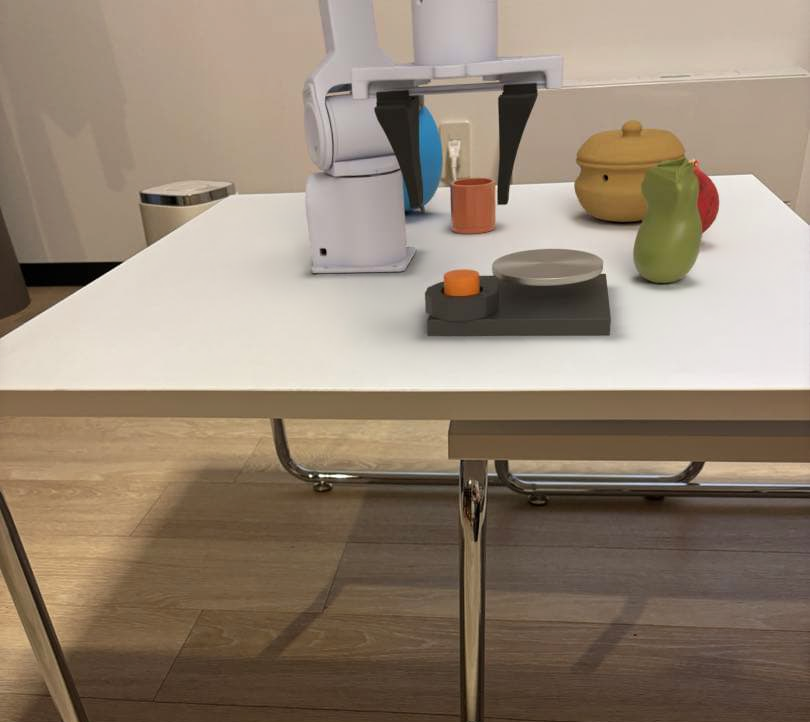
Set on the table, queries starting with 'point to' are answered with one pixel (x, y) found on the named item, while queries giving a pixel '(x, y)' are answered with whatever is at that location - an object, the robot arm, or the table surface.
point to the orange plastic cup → (473, 205)
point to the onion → (706, 198)
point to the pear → (669, 223)
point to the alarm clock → (427, 156)
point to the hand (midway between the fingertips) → (459, 203)
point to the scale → (521, 309)
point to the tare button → (461, 282)
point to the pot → (621, 169)
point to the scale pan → (547, 267)
